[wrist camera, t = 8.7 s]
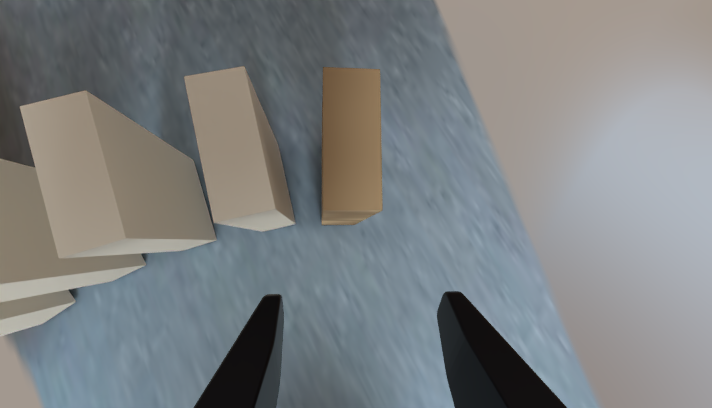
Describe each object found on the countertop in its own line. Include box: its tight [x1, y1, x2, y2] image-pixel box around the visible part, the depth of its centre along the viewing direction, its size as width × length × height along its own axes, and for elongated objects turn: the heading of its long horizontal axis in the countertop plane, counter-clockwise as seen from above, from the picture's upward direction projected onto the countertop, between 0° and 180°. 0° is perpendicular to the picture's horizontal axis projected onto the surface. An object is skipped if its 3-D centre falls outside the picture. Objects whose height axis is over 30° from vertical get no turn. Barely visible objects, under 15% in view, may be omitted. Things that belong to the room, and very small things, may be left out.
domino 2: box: [0, 159, 146, 302], centre depth 16 cm, size 2×5×10 cm, turn 27°
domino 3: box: [184, 66, 296, 232], centre depth 17 cm, size 2×5×10 cm, turn 13°
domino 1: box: [20, 90, 217, 258], centre depth 16 cm, size 2×5×10 cm, turn 18°
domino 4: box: [322, 67, 382, 225], centre depth 17 cm, size 2×5×10 cm, turn 0°
